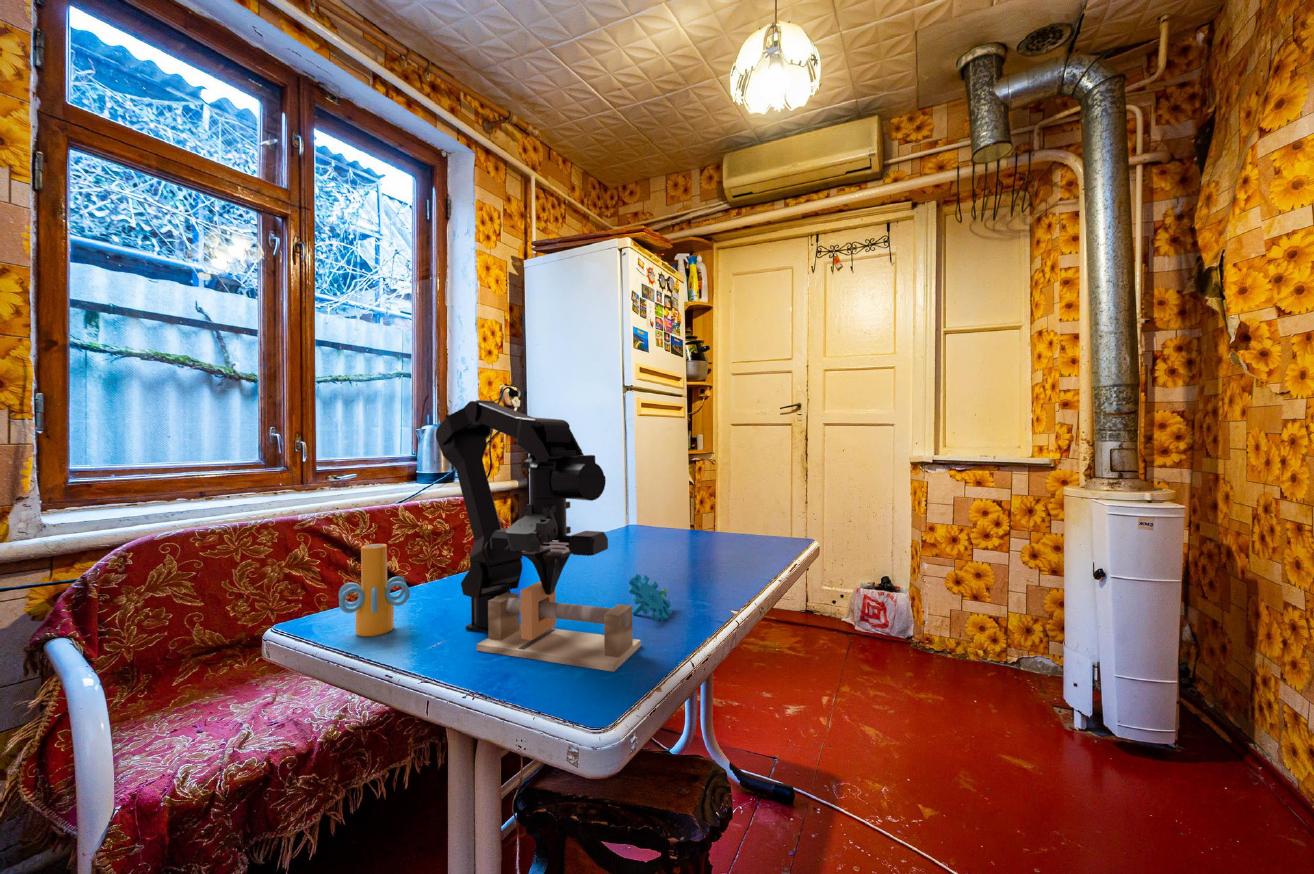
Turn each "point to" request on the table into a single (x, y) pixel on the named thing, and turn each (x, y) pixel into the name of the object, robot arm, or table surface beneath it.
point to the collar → (534, 612)
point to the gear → (649, 598)
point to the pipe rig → (562, 634)
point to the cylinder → (373, 593)
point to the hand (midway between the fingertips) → (549, 594)
